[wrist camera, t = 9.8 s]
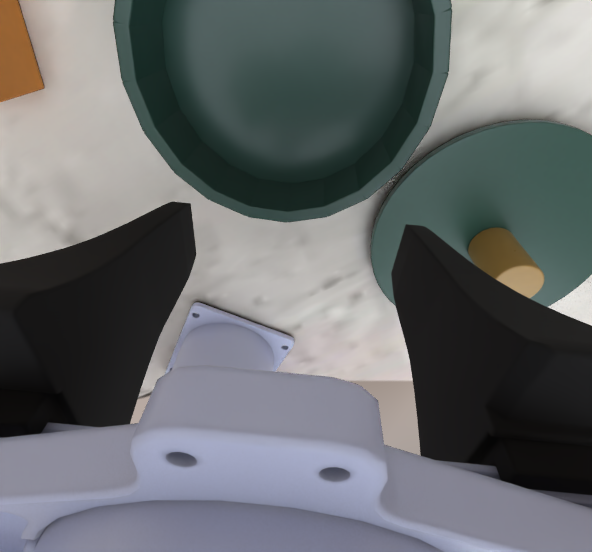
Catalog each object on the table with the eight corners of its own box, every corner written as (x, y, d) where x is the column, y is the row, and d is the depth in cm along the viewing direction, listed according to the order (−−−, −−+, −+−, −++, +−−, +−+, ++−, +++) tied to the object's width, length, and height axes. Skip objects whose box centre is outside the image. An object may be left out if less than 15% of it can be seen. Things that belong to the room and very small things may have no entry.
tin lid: (489, 340, 26) (517, 396, 23) (330, 273, 24) (331, 324, 20) (674, 188, 19) (761, 234, 15) (473, 62, 16) (518, 81, 12)
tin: (339, 222, 21) (341, 258, 18) (131, 127, 19) (95, 151, 16) (491, -20, 14) (534, -26, 11) (194, -227, 12) (151, -303, 9)
